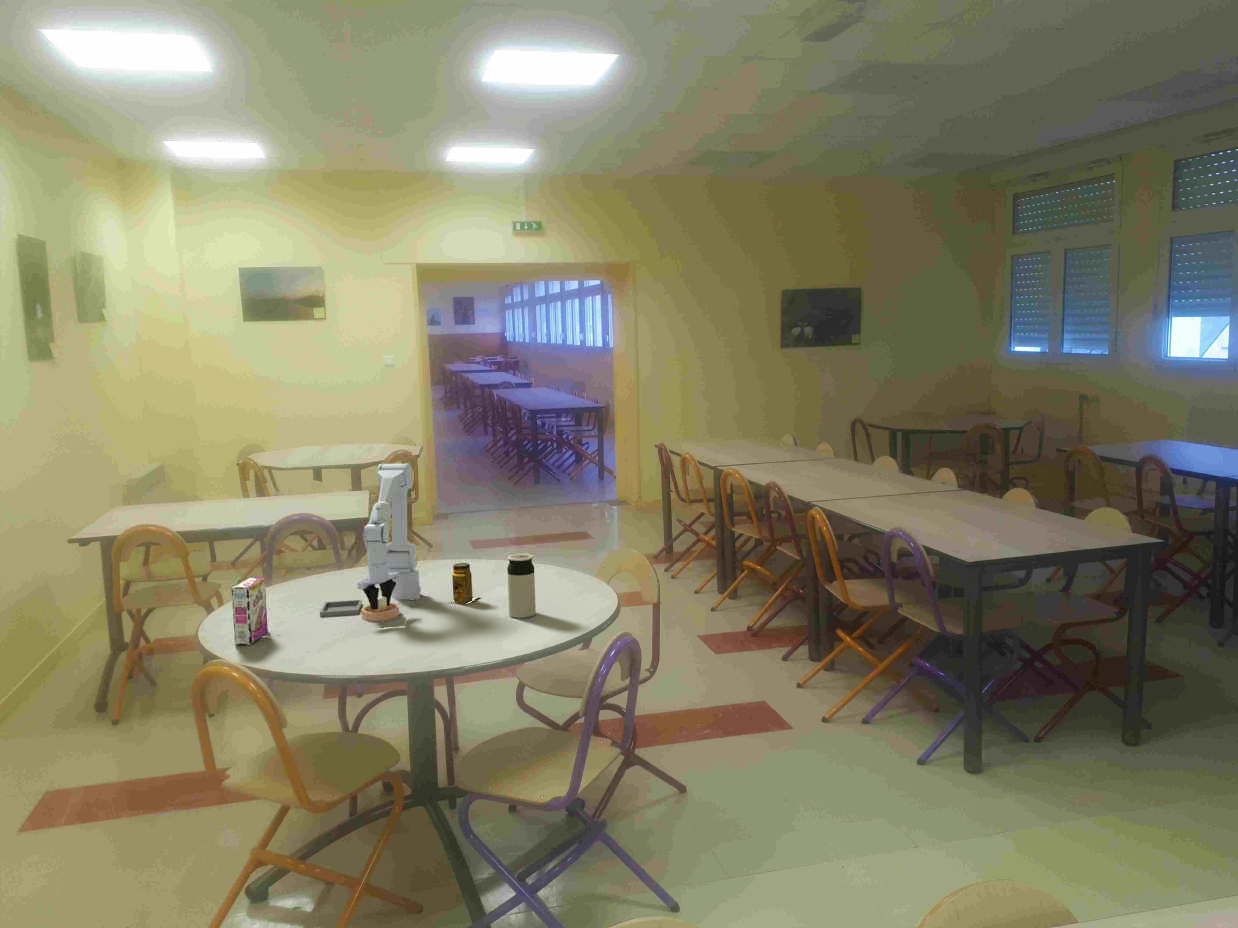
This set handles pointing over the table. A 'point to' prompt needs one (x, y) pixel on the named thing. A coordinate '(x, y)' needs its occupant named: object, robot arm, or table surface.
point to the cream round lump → (381, 604)
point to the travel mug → (521, 586)
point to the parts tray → (341, 608)
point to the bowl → (380, 613)
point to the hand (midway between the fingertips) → (380, 607)
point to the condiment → (462, 583)
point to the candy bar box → (249, 611)
